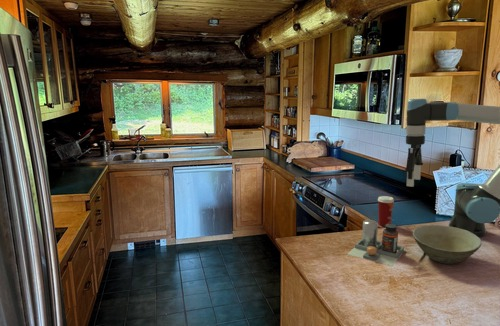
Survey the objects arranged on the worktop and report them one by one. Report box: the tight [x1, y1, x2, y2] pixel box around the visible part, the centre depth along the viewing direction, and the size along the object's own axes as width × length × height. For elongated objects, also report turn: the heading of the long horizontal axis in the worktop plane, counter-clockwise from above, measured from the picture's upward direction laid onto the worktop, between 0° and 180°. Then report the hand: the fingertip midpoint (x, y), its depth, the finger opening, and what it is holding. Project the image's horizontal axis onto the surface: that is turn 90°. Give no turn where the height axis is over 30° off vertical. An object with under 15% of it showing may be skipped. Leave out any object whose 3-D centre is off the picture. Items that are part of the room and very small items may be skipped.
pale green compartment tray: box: [347, 238, 406, 267], centre depth 150 cm, size 18×18×2 cm
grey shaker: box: [361, 219, 379, 247], centre depth 153 cm, size 6×6×11 cm
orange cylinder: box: [367, 246, 377, 255], centre depth 144 cm, size 4×4×2 cm
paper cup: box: [377, 195, 395, 228], centre depth 180 cm, size 8×8×14 cm
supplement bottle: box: [381, 223, 399, 253], centre depth 148 cm, size 6×6×11 cm
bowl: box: [412, 224, 482, 265], centre depth 143 cm, size 24×24×10 cm
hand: (413, 182), depth 161 cm, fingers open, 13 cm apart
